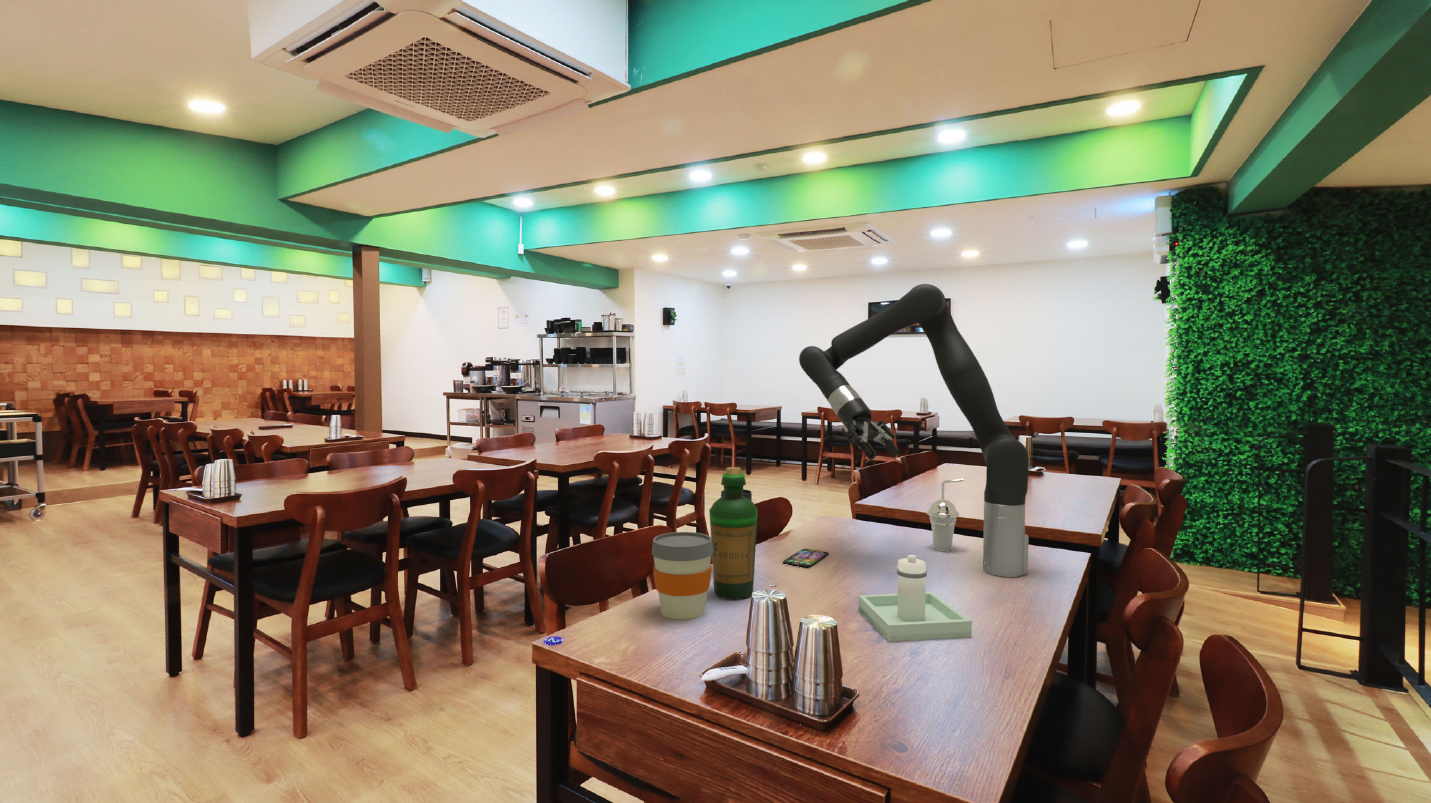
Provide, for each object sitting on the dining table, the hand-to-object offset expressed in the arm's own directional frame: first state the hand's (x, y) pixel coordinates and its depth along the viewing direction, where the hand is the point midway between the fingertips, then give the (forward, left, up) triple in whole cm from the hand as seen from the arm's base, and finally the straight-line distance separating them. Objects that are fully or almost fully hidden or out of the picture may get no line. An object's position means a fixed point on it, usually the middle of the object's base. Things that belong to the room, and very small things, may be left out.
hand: (885, 456), depth 158 cm
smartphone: (+16, -14, -29) cm, 36 cm away
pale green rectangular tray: (+7, +31, -29) cm, 43 cm away
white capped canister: (+7, +31, -28) cm, 42 cm away
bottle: (+39, +10, -29) cm, 49 cm away
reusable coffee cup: (+51, +19, -29) cm, 61 cm away
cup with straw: (-24, -18, -29) cm, 42 cm away
